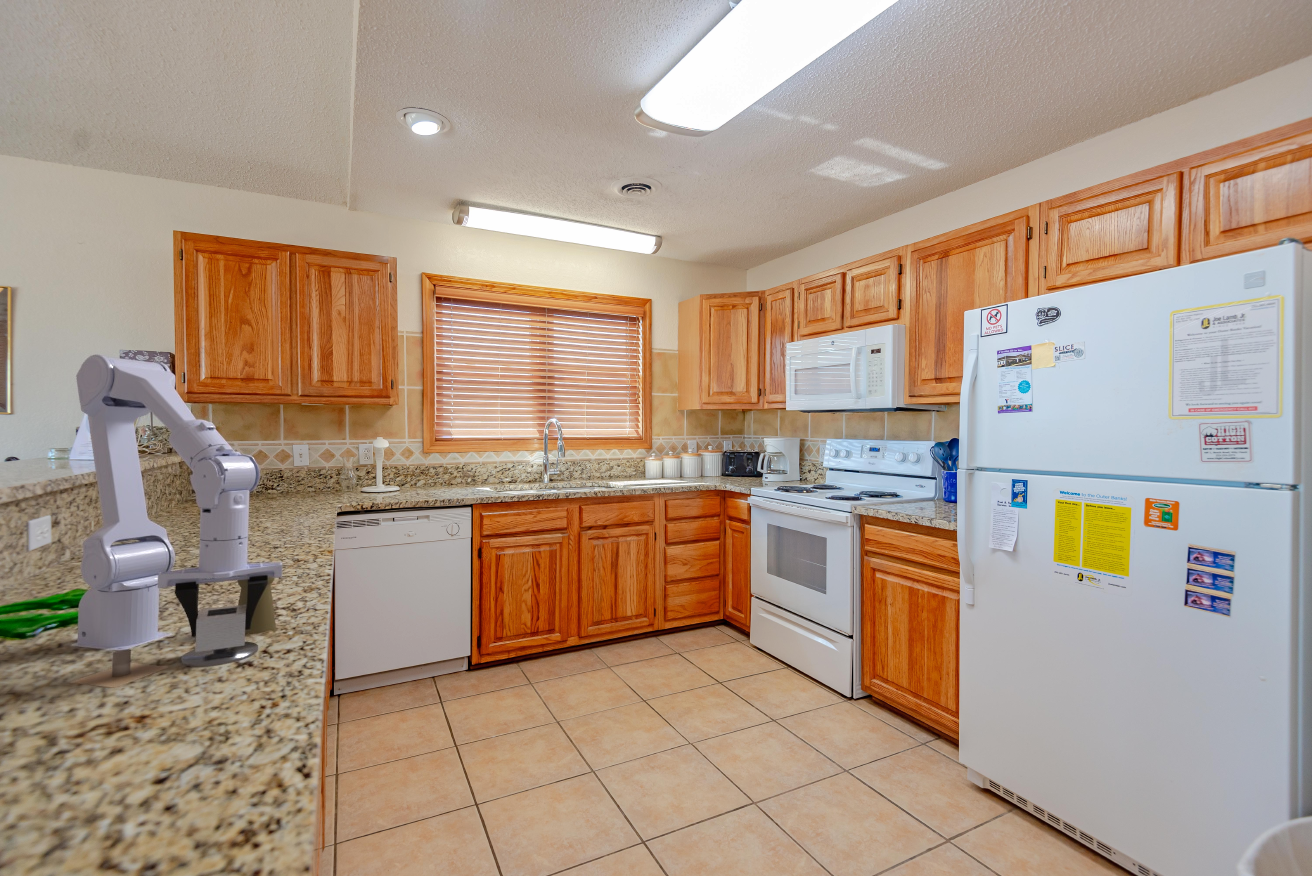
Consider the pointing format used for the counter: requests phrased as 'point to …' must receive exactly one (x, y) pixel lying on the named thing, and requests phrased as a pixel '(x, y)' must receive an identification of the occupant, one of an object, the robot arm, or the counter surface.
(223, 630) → the square metal tube
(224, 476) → the robot arm
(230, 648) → the hub
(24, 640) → the counter surface
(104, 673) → the stand
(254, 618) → the cork
